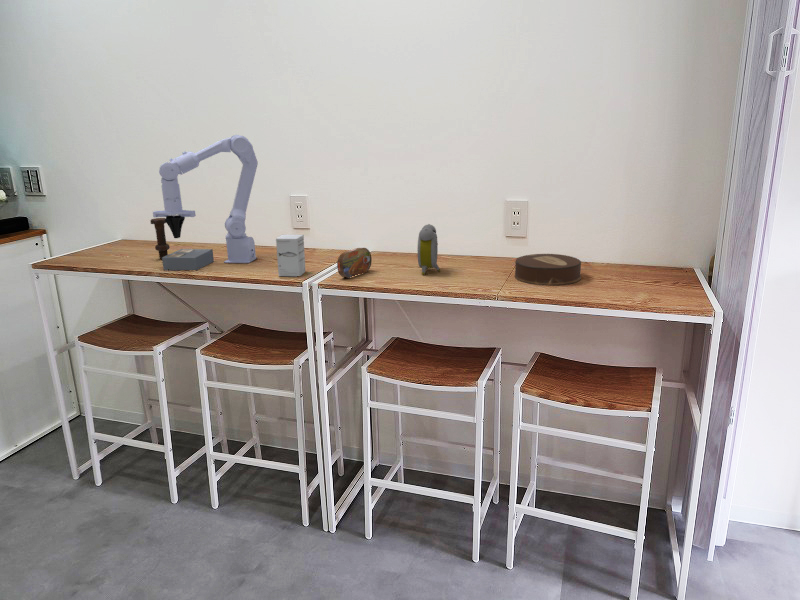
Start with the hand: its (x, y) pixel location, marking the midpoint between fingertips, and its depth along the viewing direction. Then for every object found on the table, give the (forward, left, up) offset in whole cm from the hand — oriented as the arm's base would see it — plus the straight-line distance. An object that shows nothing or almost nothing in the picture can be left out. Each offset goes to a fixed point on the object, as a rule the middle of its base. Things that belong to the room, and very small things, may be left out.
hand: (177, 237), depth 220 cm
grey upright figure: (-88, +3, -11) cm, 89 cm away
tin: (-64, +8, -11) cm, 66 cm away
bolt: (+13, -12, -11) cm, 20 cm away
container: (-125, +8, -11) cm, 126 cm away
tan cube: (0, +2, -10) cm, 10 cm away
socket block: (-2, -2, -10) cm, 11 cm away
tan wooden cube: (0, -5, -10) cm, 11 cm away
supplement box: (-43, +8, -11) cm, 45 cm away
